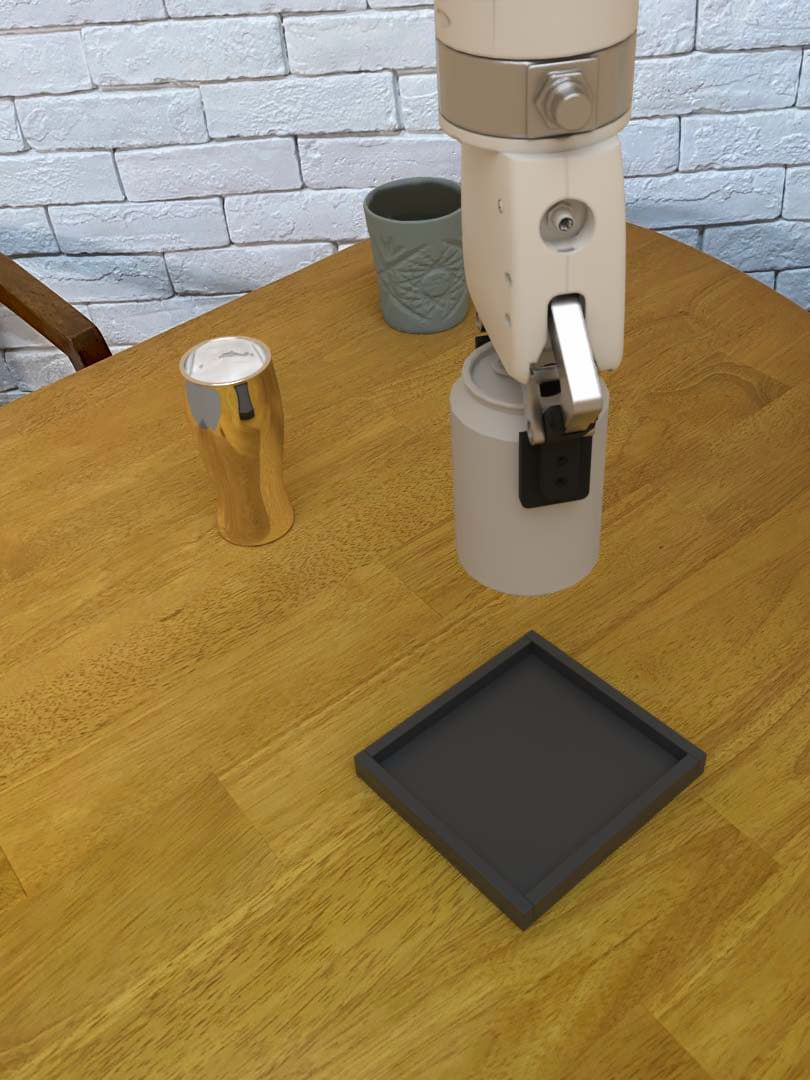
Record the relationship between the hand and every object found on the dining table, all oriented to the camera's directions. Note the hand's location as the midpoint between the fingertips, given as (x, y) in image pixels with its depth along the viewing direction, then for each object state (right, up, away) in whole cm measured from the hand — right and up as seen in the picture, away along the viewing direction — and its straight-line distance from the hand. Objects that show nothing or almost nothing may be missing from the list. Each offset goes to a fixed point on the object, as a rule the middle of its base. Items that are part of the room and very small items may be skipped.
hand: (529, 446), depth 55 cm
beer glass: (-18, -3, +35) cm, 39 cm away
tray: (+2, -19, +15) cm, 24 cm away
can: (0, -6, +5) cm, 7 cm away
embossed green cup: (-4, +18, +58) cm, 61 cm away
